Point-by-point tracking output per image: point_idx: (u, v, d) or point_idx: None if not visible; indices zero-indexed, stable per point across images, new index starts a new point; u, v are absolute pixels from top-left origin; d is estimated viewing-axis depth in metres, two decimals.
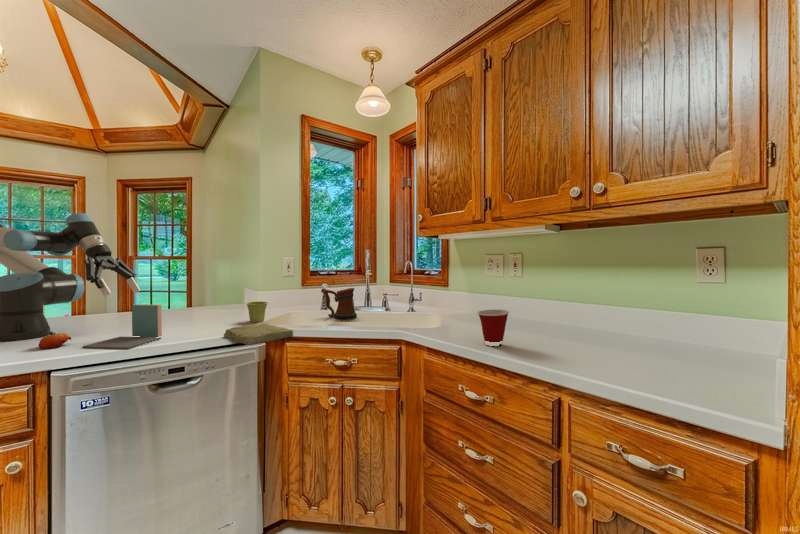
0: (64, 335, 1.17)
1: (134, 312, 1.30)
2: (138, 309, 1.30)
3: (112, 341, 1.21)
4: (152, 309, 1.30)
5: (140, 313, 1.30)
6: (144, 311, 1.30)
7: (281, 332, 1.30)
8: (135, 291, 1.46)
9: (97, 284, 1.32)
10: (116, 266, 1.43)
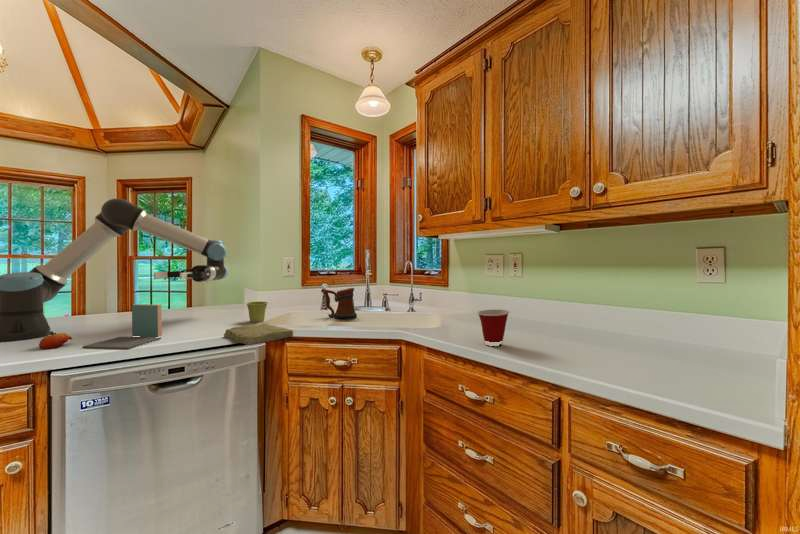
0: (64, 335, 1.17)
1: (134, 312, 1.30)
2: (138, 309, 1.30)
3: (112, 341, 1.21)
4: (152, 309, 1.30)
5: (140, 313, 1.30)
6: (144, 311, 1.30)
7: (281, 332, 1.30)
8: (156, 274, 1.42)
9: (192, 275, 1.45)
10: None
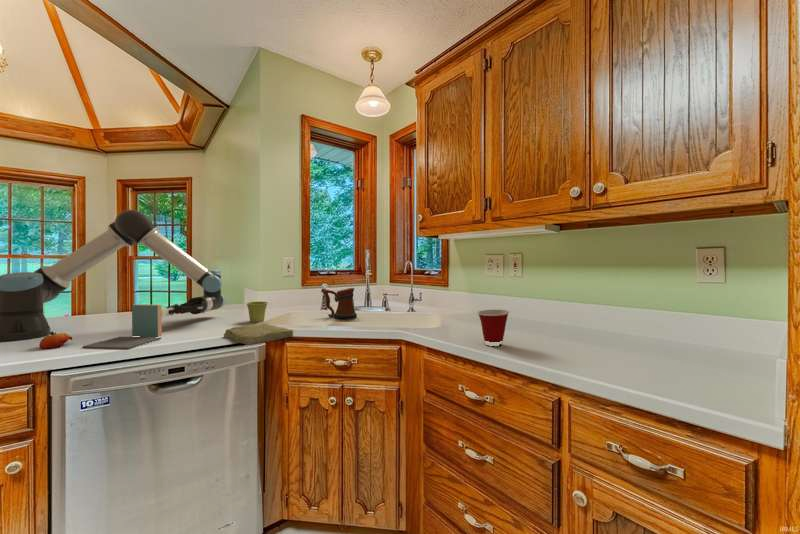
0: (65, 335, 1.17)
1: (134, 312, 1.30)
2: (138, 309, 1.30)
3: (112, 341, 1.21)
4: (152, 309, 1.30)
5: (140, 313, 1.30)
6: (144, 311, 1.30)
7: (281, 332, 1.30)
8: None
9: (174, 311, 1.42)
10: None
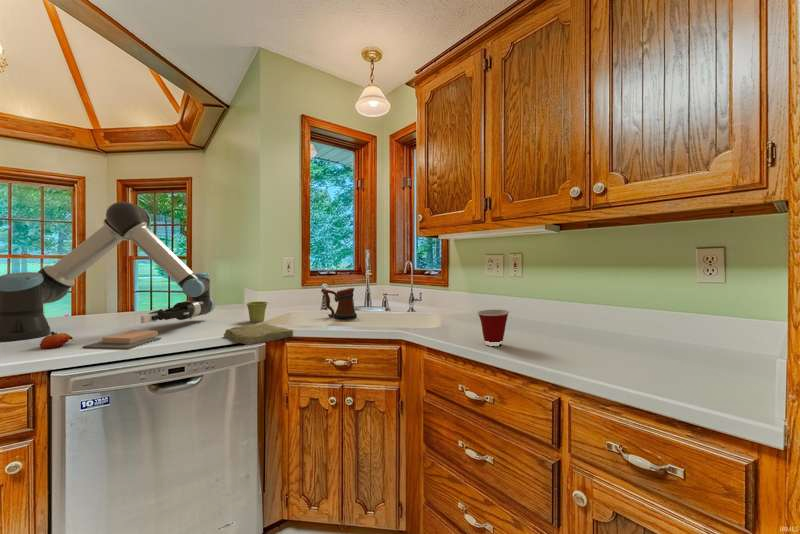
0: (65, 335, 1.17)
1: None
2: None
3: None
4: None
5: None
6: None
7: (281, 332, 1.30)
8: None
9: (157, 317, 1.33)
10: None
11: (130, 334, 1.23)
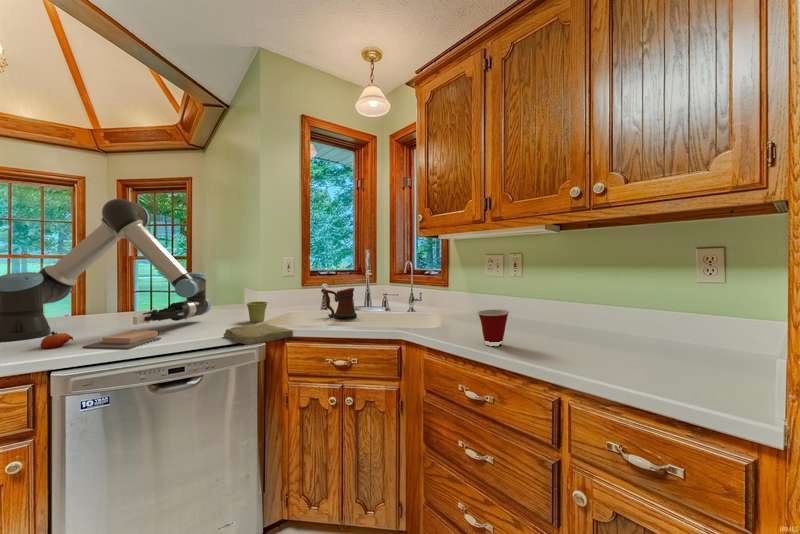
0: (66, 335, 1.17)
1: None
2: None
3: None
4: None
5: None
6: None
7: (281, 332, 1.30)
8: None
9: (150, 318, 1.30)
10: None
11: (130, 334, 1.23)
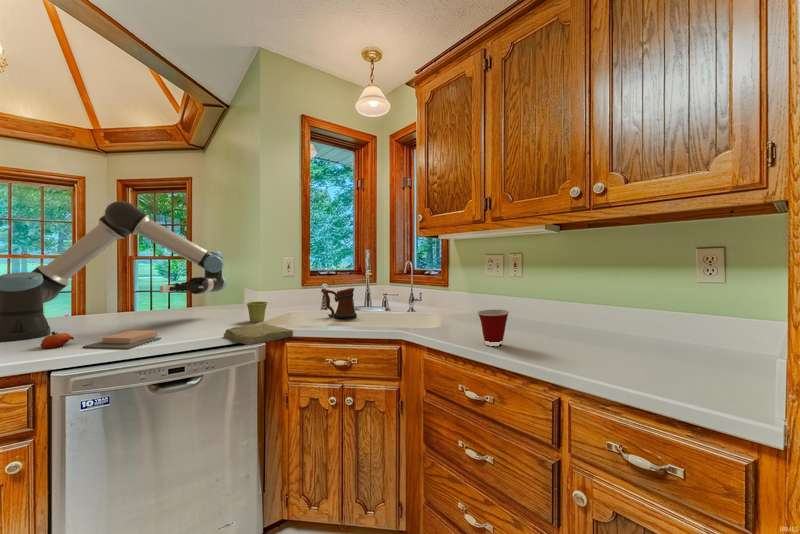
0: (66, 335, 1.17)
1: None
2: None
3: None
4: None
5: None
6: None
7: (281, 332, 1.30)
8: None
9: (174, 288, 1.42)
10: None
11: (130, 334, 1.23)
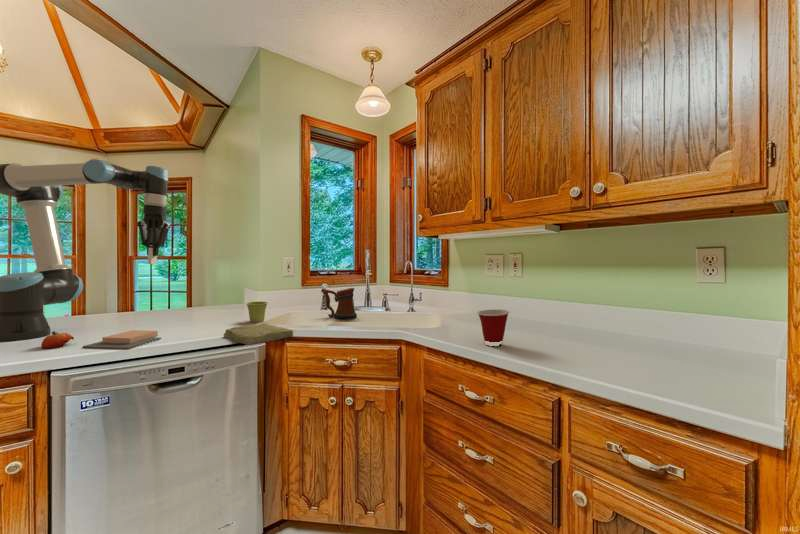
0: (66, 335, 1.17)
1: None
2: None
3: None
4: None
5: None
6: None
7: (281, 332, 1.30)
8: None
9: (157, 252, 1.42)
10: None
11: (130, 334, 1.23)
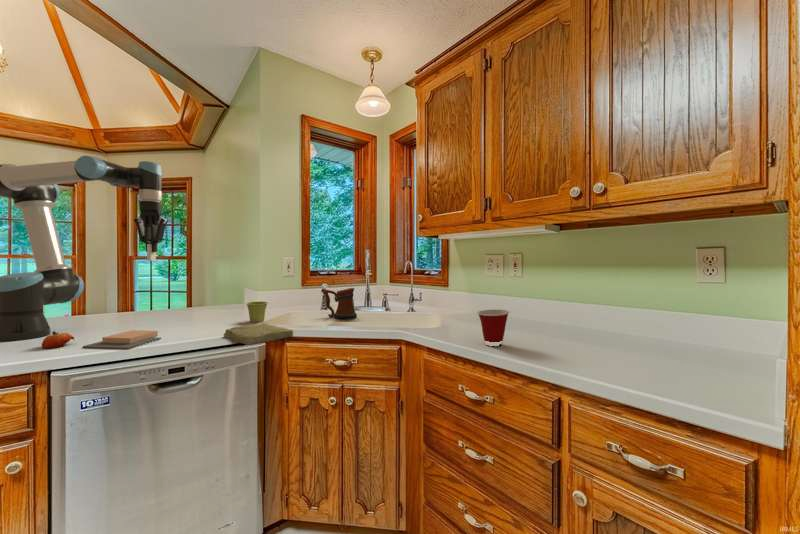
0: (67, 335, 1.18)
1: None
2: None
3: None
4: None
5: None
6: None
7: (281, 332, 1.30)
8: None
9: (155, 248, 1.41)
10: None
11: (130, 334, 1.23)
